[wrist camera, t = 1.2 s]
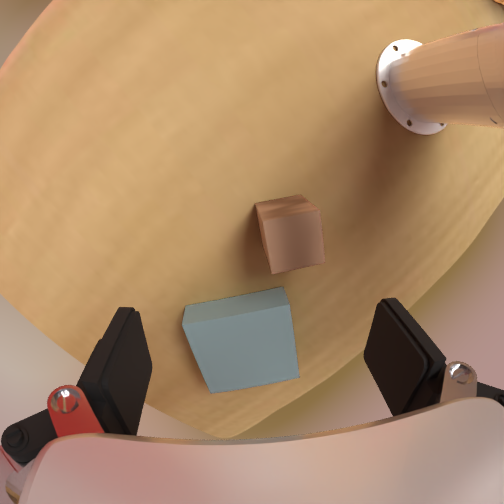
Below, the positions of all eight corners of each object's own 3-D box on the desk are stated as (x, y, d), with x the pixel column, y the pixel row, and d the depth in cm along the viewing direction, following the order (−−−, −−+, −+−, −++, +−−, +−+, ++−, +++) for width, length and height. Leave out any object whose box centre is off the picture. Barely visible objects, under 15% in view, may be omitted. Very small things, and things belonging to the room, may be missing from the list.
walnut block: (300, 194, 31) (320, 210, 24) (306, 237, 33) (325, 262, 26) (254, 203, 31) (262, 221, 24) (262, 246, 33) (272, 274, 26)
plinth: (283, 286, 35) (289, 304, 31) (293, 357, 39) (299, 377, 36) (185, 305, 35) (181, 324, 31) (211, 373, 39) (210, 393, 36)
